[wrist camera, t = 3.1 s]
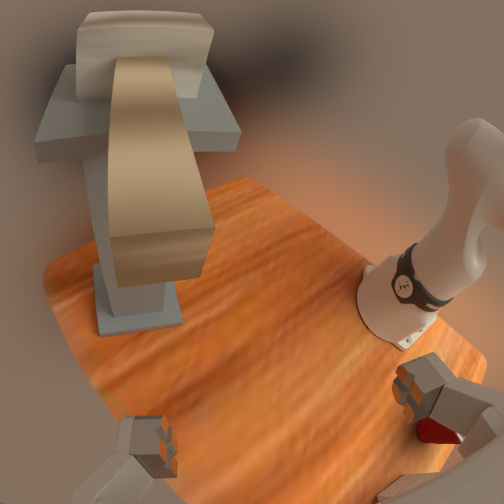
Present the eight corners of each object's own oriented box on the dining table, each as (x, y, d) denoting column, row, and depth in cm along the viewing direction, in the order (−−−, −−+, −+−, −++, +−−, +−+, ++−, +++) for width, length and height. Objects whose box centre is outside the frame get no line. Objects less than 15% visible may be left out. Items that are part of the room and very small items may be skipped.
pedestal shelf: (167, 260, 47) (205, 62, 22) (182, 325, 42) (241, 132, 17) (94, 268, 42) (65, 65, 17) (100, 337, 37) (33, 142, 12)
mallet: (85, 71, 17) (89, 12, 13) (185, 69, 20) (199, 14, 16) (52, 296, 9) (2, 196, 5) (260, 268, 12) (318, 176, 8)
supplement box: (385, 524, 30) (440, 531, 20) (374, 494, 33) (431, 497, 24) (414, 501, 33) (468, 501, 23) (404, 472, 37) (460, 468, 27)
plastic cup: (422, 391, 47) (470, 372, 37) (448, 422, 44) (494, 408, 35) (397, 434, 41) (449, 423, 31) (426, 464, 38) (476, 457, 29)
